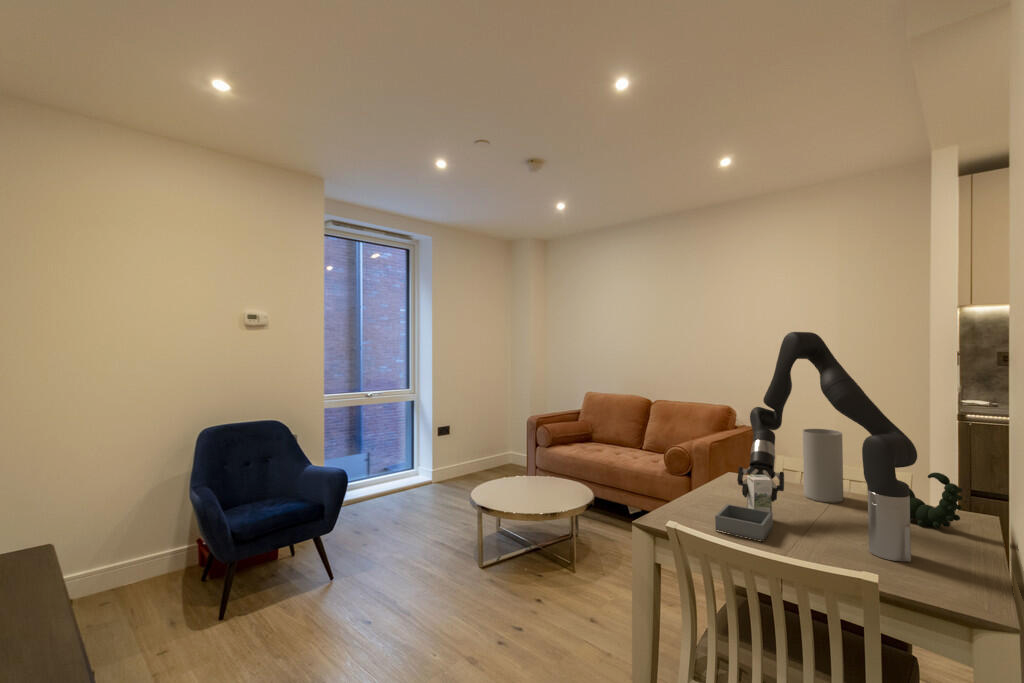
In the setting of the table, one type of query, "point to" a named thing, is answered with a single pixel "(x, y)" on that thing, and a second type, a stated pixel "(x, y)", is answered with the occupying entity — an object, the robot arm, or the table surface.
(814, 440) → the cylinder vase
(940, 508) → the toy figurine
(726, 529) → the crate
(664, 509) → the table surface
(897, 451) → the robot arm
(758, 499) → the syrup box
